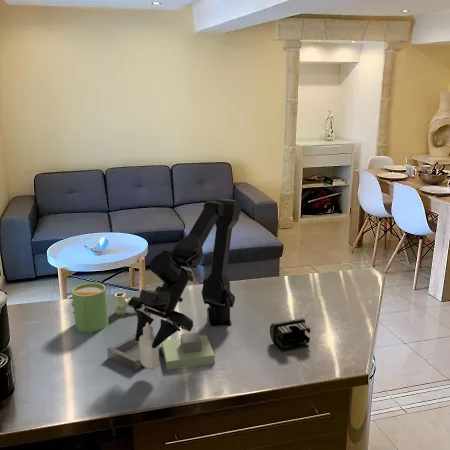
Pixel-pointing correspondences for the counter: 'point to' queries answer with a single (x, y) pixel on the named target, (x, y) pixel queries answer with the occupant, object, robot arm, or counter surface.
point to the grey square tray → (128, 353)
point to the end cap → (290, 334)
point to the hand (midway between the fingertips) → (144, 344)
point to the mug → (90, 307)
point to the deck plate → (186, 358)
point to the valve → (121, 303)
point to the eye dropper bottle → (148, 349)
